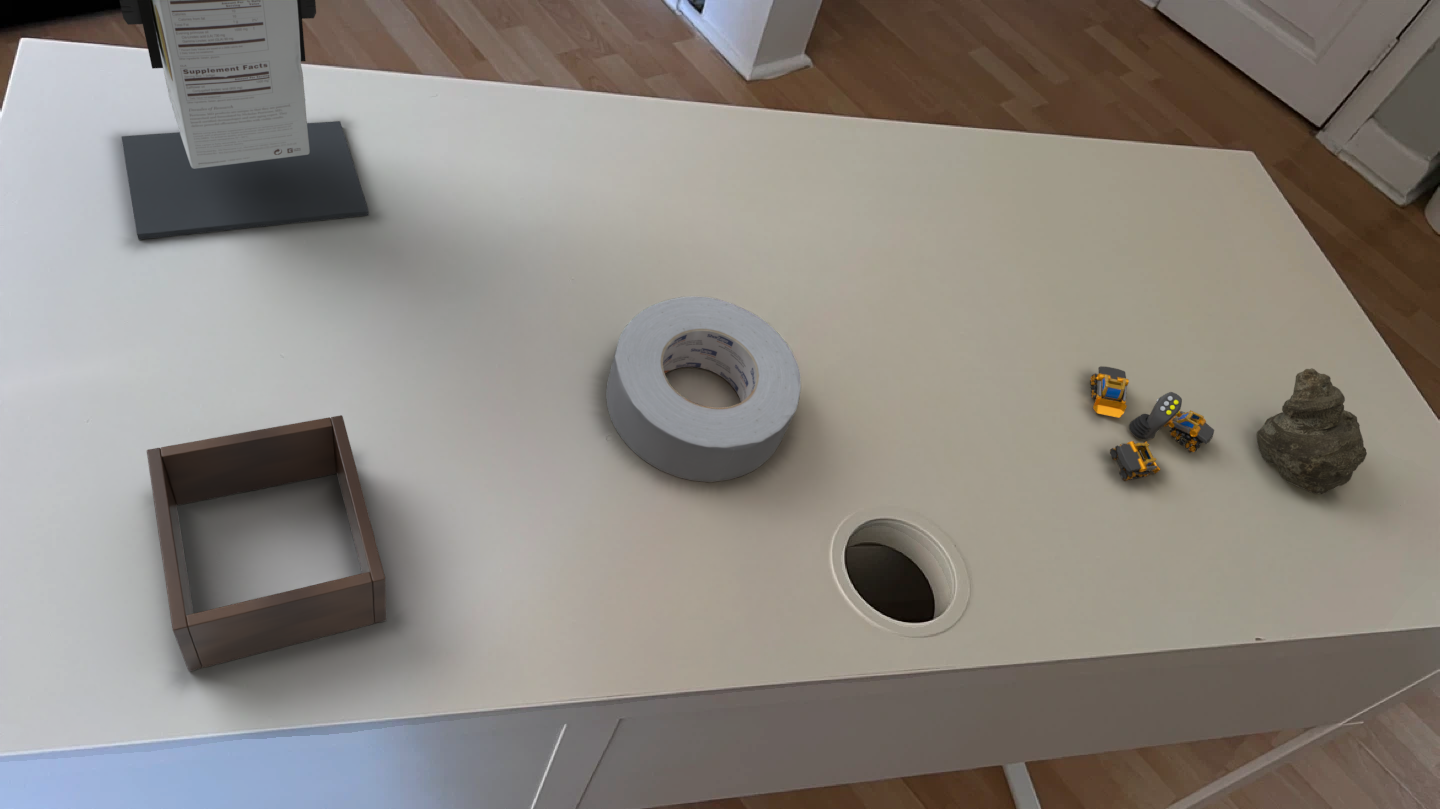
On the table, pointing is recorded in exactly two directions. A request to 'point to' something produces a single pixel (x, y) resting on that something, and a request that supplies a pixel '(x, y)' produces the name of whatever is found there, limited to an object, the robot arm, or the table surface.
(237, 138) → the supplement box
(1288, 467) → the seashell
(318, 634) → the brown open square box
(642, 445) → the tape roll
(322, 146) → the mat
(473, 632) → the table surface
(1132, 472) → the toy set
